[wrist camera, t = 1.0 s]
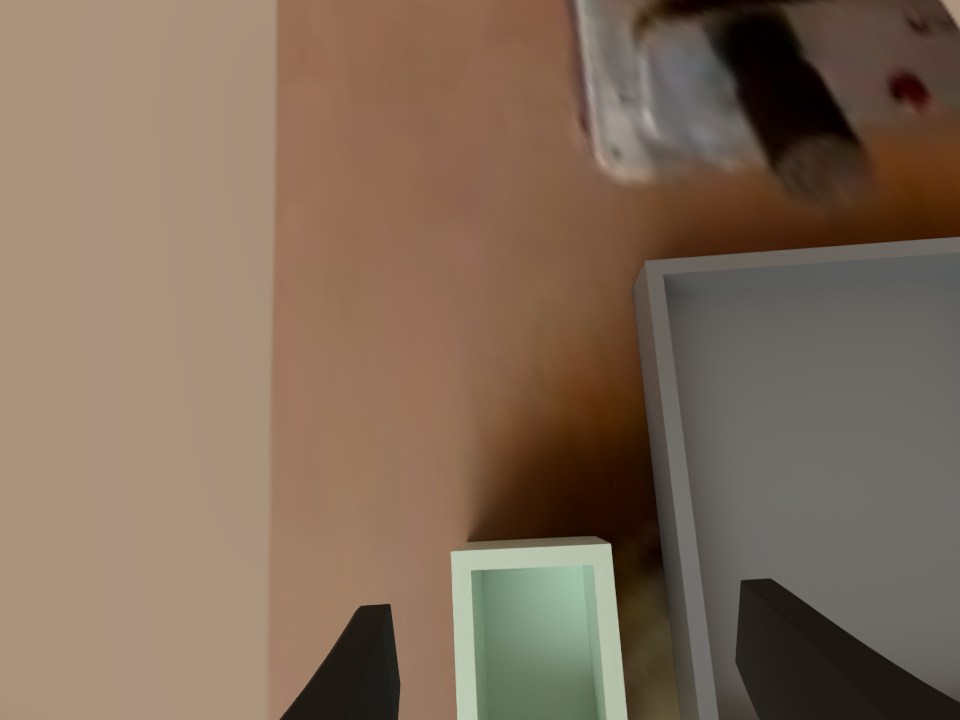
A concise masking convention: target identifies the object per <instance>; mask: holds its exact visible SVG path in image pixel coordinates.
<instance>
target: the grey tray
mask: <svg viewBox="0 0 960 720" xmlns="http://www.w3.org/2000/svg"><path fill="white" fill-rule="evenodd" d="M632 291H633V299H634V308H635V317H636V326H637V335H638V344H639V353H640V362H641V371H642V379H643V388H644V397H645V406H646V415H647V424H648V433H649V442H650V451H651V459H652V468H653V477H654V486H655V495H656V504H657V513H658V522H659V530H660V539H661V548H662V557H663V566H664V575H665V584H666V593H667V602H668V610H669V619H670V628H671V637H672V646H673V655H674V664H675V673H676V682H677V690H678V699H679V708H680V717H681V720H760V719H759V717H758V715H757V714H756V712H755V709H754V707H753V705H752V702H751V700H750V698H749V695H748V693H747V690H746V688H745V686H744V683H743V680H742V678H741V675H740V673H739V670H738V668H737V665H736V663H735V656H736V642H737V627H738V613H739V598H740V583H741V580H750V579H765V578H771V579H773V580H774V581H776V582H777V583H779V584H780V585H782V586H783V587H784V588H786V589H787V590H789V591H790V592H792V593H793V594H794V595H796V596H797V597H799V598H800V599H801V600H803V601H804V602H806V603H807V604H808V605H810V606H811V607H813V608H814V609H815V610H817V611H818V612H820V613H821V614H822V615H824V616H825V617H827V618H828V619H829V620H831V621H832V622H834V623H835V624H836V625H838V626H839V627H841V628H842V629H844V630H845V631H846V632H848V633H849V634H851V635H852V636H854V637H855V638H857V639H858V640H860V641H861V642H862V643H864V644H865V645H867V646H868V647H870V648H871V649H873V650H874V651H876V652H877V653H879V654H881V655H882V656H884V657H885V658H887V659H888V660H890V661H891V662H893V663H894V664H896V665H898V666H899V667H901V668H902V669H904V670H906V671H907V672H909V673H910V674H912V675H914V676H915V677H917V678H918V679H920V680H922V681H923V682H925V683H927V684H928V685H930V686H932V687H933V688H935V689H937V690H939V691H940V692H942V693H944V694H945V695H947V696H949V697H951V698H953V699H955V700H956V701H958V702H960V237H951V238H938V239H925V240H911V241H898V242H885V243H872V244H858V245H845V246H832V247H819V248H806V249H792V250H779V251H766V252H753V253H739V254H726V255H713V256H700V257H687V258H673V259H660V260H647V261H645V262H644V264H643V266H642V268H641V270H640V272H639V274H638V276H637V279H636V281H635V283H634V285H633V287H632Z"/></svg>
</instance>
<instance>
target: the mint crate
mask: <svg viewBox="0 0 960 720" xmlns="http://www.w3.org/2000/svg"><path fill="white" fill-rule="evenodd" d="M451 564H452V591H453V617H454V643H455V669H456V696H457V720H628V719H627V708H626V698H625V687H624V677H623V666H622V656H621V645H620V635H619V624H618V613H617V603H616V592H615V582H614V571H613V561H612V550H611V544H610V543H608V542H606V541H604V540H602V539H600V538H598V537H596V536H580V537H559V538H538V539H517V540H497V541H476V542H466V543H464V544H462V545H461V546H459V547H457V548H456V549H454V550H452V551H451Z"/></svg>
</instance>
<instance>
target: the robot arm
mask: <svg viewBox="0 0 960 720" xmlns="http://www.w3.org/2000/svg"><path fill="white" fill-rule="evenodd" d="M735 663H736V665H737V668H738V670H739V673H740V675H741V678H742V680H743V683H744V686H745V688H746V690H747V693H748V695H749V698H750V700H751V702H752V705H753V707H754V709H755V712H756V714H757V715H758V717H759V719H760V720H960V702H958V701H956V700H955V699H953V698H951V697H949V696H947V695H945V694H944V693H942V692H940V691H939V690H937V689H935V688H933V687H932V686H930V685H928V684H927V683H925V682H923V681H922V680H920V679H918V678H917V677H915V676H914V675H912V674H910V673H909V672H907V671H906V670H904V669H902V668H901V667H899V666H898V665H896V664H894V663H893V662H891V661H890V660H888V659H887V658H885V657H884V656H882V655H881V654H879V653H877V652H876V651H874V650H873V649H871V648H870V647H868V646H867V645H865V644H864V643H862V642H861V641H860V640H858V639H857V638H855V637H854V636H852V635H851V634H849V633H848V632H846V631H845V630H844V629H842V628H841V627H839V626H838V625H836V624H835V623H834V622H832V621H831V620H829V619H828V618H827V617H825V616H824V615H822V614H821V613H820V612H818V611H817V610H815V609H814V608H813V607H811V606H810V605H808V604H807V603H806V602H804V601H803V600H801V599H800V598H799V597H797V596H796V595H794V594H793V593H792V592H790V591H789V590H787V589H786V588H784V587H783V586H782V585H780V584H779V583H777V582H776V581H774V580H773V579H771V578H765V579H750V580H741V583H740V598H739V613H738V627H737V642H736V656H735ZM399 697H400V678H399V670H398V662H397V654H396V646H395V638H394V630H393V622H392V614H391V606H390V604H382V605H367V606H360V607H359V608H358V609H357V610H356V612H355V613H354V615H353V617H352V618H351V620H350V622H349V623H348V625H347V626H346V628H345V630H344V631H343V633H342V634H341V636H340V637H339V639H338V641H337V642H336V644H335V645H334V647H333V648H332V650H331V651H330V653H329V654H328V656H327V657H326V659H325V660H324V661H323V663H322V664H321V666H320V667H319V668H318V670H317V671H316V673H315V674H314V675H313V677H312V678H311V680H310V681H309V683H308V684H307V685H306V687H305V688H304V689H303V691H302V692H301V693H300V694H299V696H298V697H297V698H296V700H295V701H294V702H293V703H292V705H291V706H290V707H289V708H288V710H287V711H286V712H285V714H284V715H283V716H282V717H281V719H280V720H398V712H399Z"/></svg>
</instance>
